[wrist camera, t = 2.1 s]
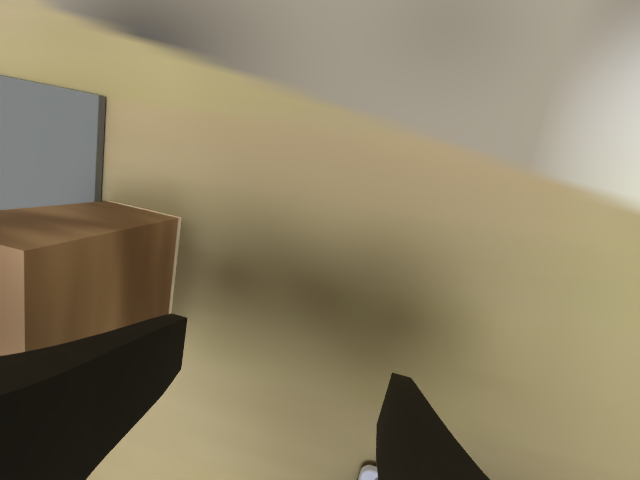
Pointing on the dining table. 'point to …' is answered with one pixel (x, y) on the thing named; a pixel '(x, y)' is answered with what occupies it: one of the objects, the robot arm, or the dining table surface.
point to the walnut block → (82, 271)
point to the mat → (49, 145)
